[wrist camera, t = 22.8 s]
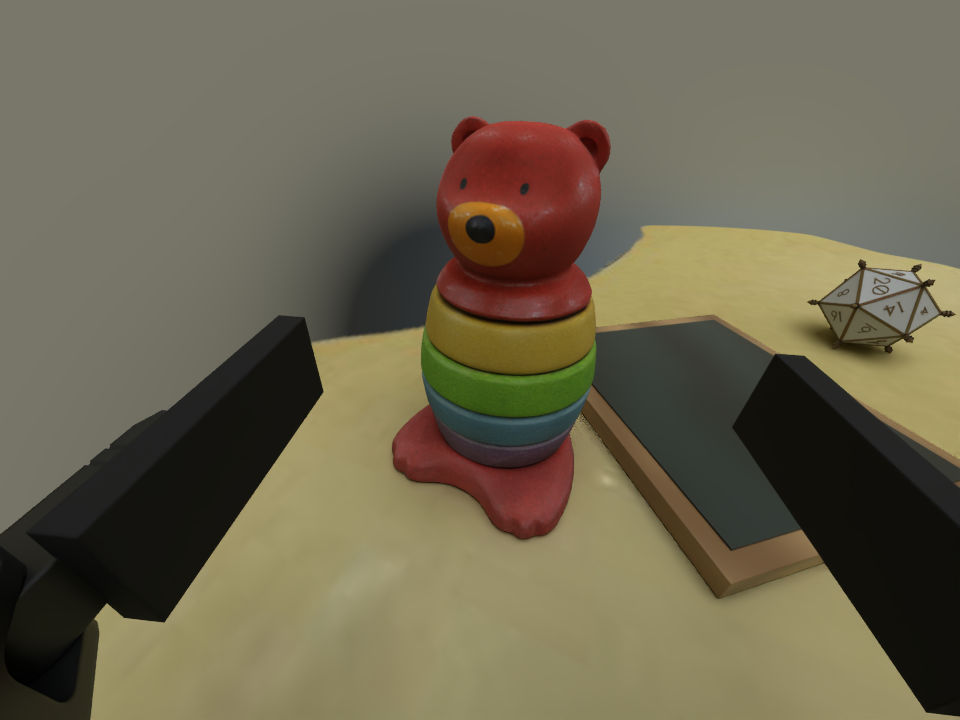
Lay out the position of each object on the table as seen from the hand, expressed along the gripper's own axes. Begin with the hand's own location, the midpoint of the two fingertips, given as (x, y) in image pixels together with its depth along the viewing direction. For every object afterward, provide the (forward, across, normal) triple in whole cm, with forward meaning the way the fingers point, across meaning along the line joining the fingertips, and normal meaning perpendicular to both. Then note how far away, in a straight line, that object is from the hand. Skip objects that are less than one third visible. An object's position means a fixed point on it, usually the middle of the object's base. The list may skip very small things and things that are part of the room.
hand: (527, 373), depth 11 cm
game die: (+26, +34, -12) cm, 45 cm away
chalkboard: (+14, +16, -12) cm, 24 cm away
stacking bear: (+8, -1, -12) cm, 14 cm away
